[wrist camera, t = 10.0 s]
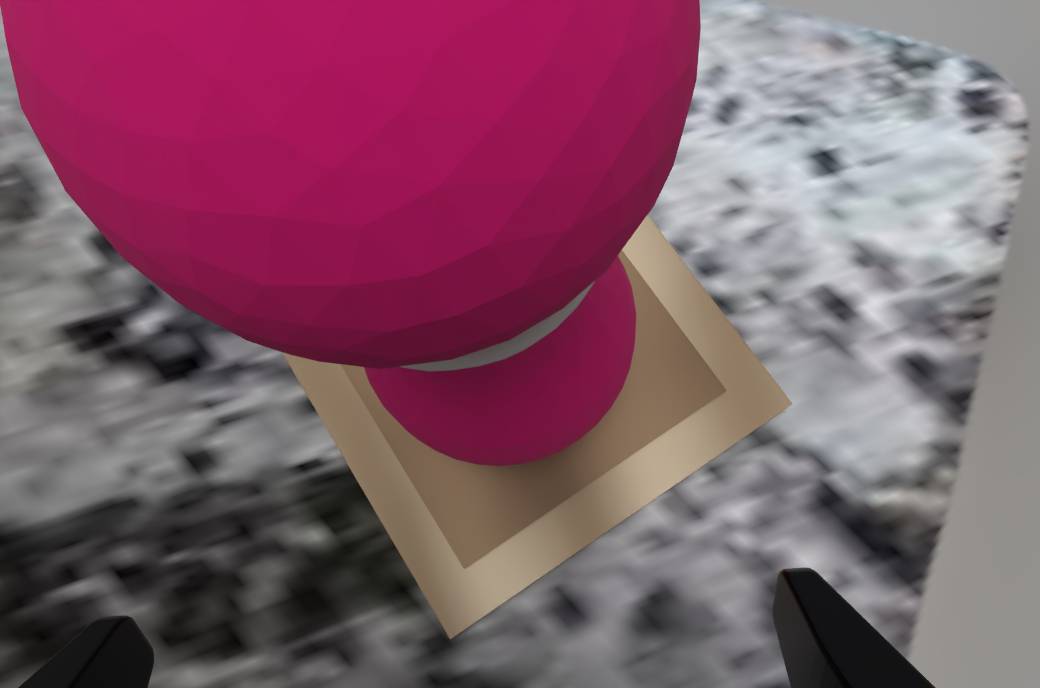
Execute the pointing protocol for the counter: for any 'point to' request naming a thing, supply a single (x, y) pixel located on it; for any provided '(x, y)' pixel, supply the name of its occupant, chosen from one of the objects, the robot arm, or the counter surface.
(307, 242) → the pepper mill
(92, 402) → the counter surface
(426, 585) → the beech tray
